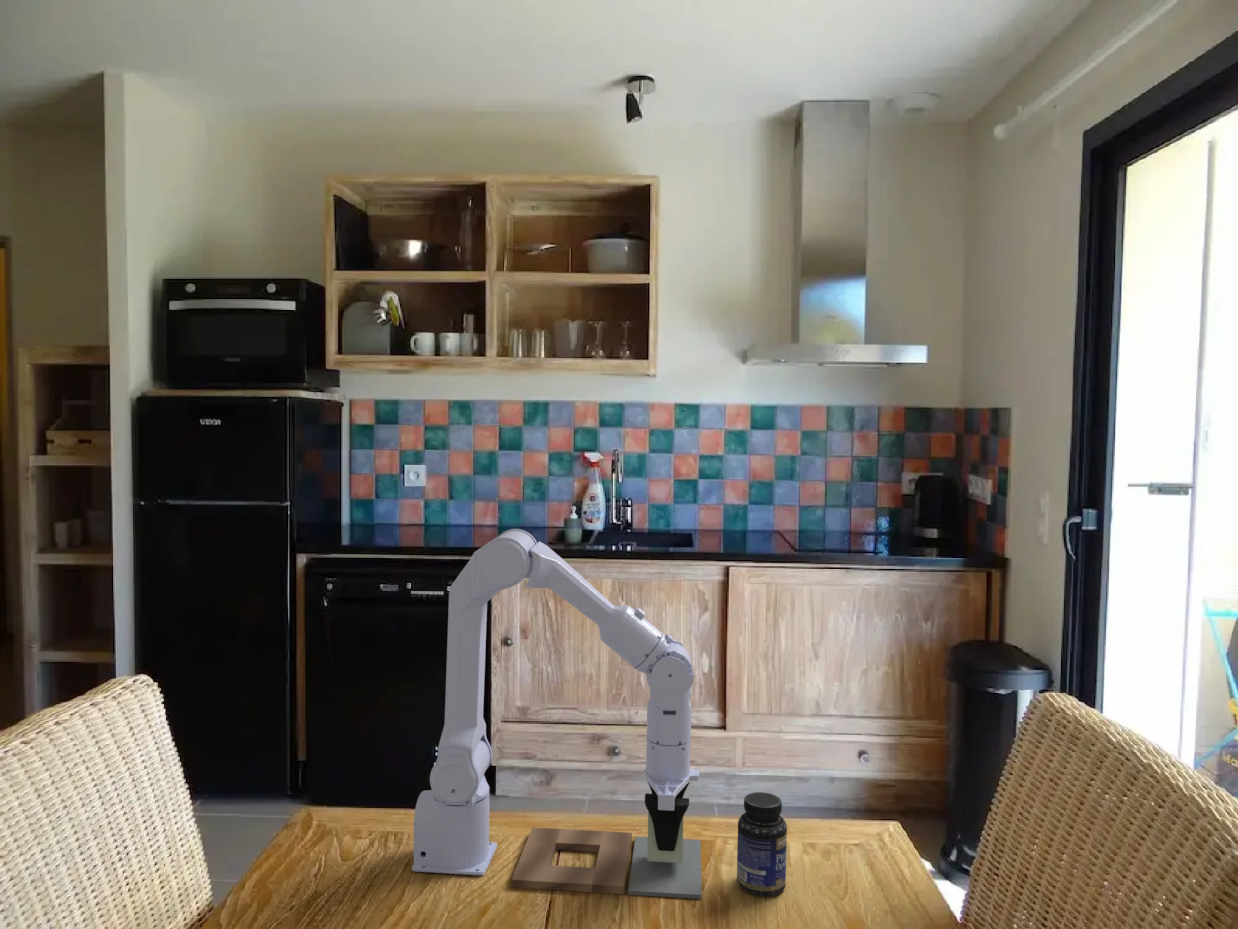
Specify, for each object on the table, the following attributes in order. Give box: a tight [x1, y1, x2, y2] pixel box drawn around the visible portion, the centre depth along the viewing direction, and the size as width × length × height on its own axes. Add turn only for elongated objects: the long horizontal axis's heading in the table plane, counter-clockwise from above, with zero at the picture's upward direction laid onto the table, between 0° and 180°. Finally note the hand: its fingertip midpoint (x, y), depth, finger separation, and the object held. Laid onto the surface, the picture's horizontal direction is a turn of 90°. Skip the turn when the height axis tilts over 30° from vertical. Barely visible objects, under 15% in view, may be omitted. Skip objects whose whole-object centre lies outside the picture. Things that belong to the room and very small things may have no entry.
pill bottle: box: [736, 791, 788, 898], centre depth 109 cm, size 6×6×11 cm
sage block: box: [647, 811, 684, 863], centre depth 113 cm, size 4×4×6 cm
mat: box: [627, 836, 703, 900], centre depth 113 cm, size 9×14×1 cm, turn 175°
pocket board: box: [511, 827, 633, 895], centre depth 114 cm, size 14×14×1 cm
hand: (666, 840), depth 113 cm, fingers closed on sage block, 4 cm apart
